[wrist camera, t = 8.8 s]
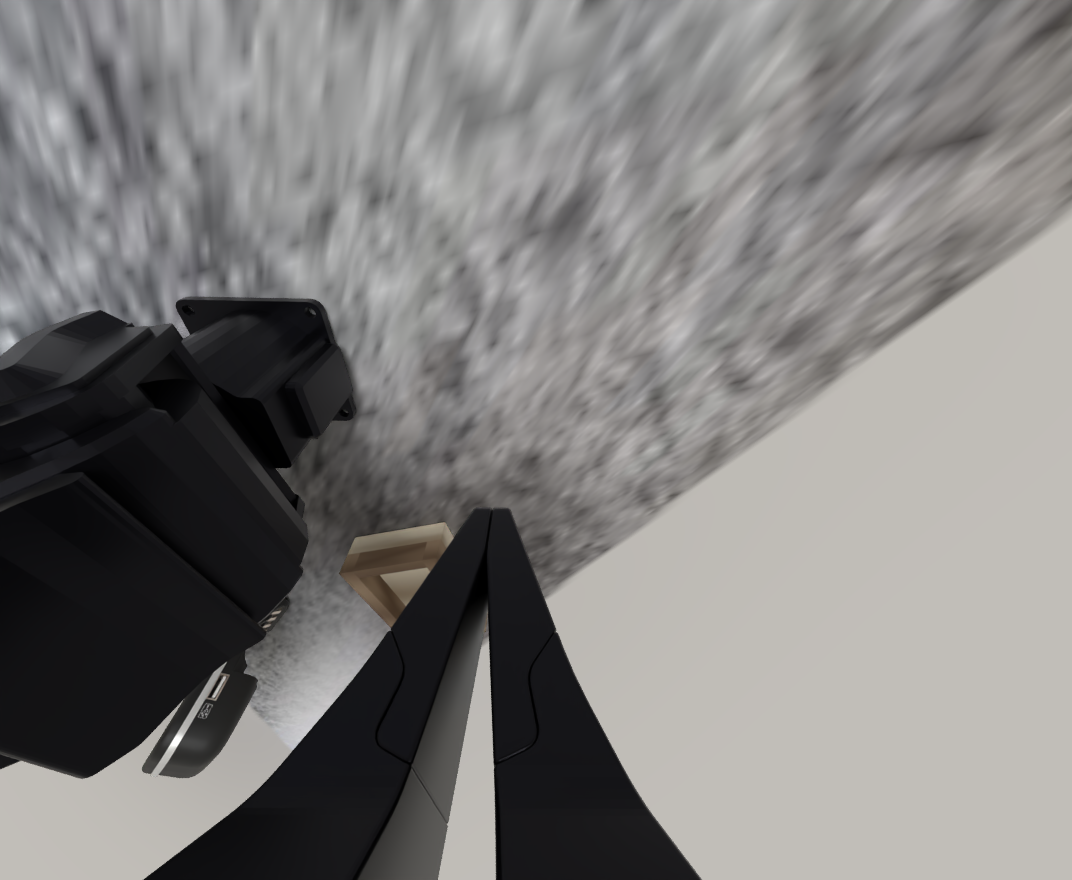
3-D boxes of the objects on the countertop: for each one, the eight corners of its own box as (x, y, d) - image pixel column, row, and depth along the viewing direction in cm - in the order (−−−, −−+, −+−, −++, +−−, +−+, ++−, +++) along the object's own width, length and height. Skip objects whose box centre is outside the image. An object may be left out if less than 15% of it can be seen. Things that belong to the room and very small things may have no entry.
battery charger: (279, 629, 37) (196, 788, 28) (235, 616, 36) (133, 780, 27) (304, 597, 34) (219, 766, 25) (257, 582, 32) (149, 755, 23)
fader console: (355, 537, 29) (339, 573, 26) (444, 522, 28) (436, 558, 25) (413, 607, 35) (404, 642, 32) (489, 597, 34) (485, 632, 31)
